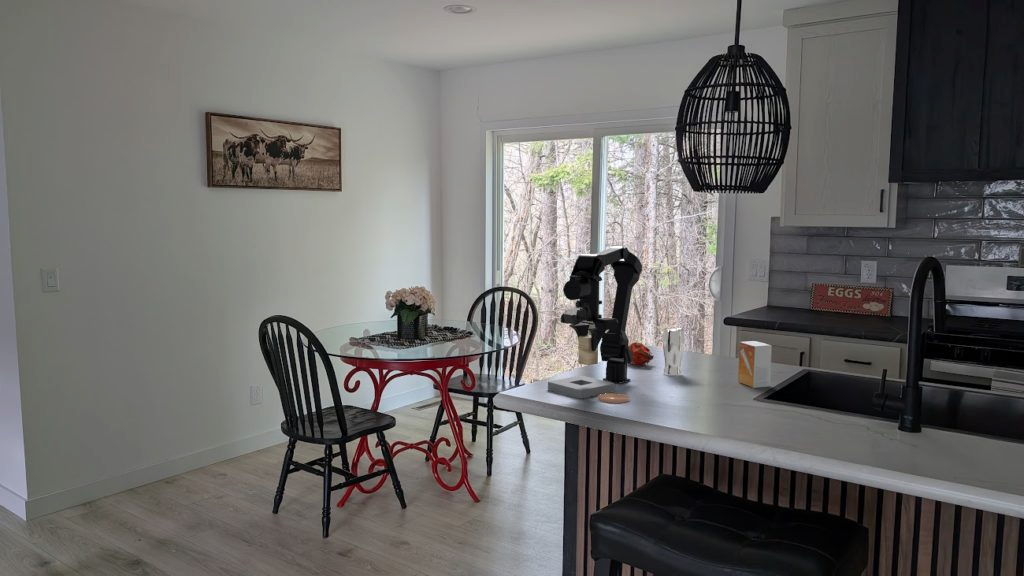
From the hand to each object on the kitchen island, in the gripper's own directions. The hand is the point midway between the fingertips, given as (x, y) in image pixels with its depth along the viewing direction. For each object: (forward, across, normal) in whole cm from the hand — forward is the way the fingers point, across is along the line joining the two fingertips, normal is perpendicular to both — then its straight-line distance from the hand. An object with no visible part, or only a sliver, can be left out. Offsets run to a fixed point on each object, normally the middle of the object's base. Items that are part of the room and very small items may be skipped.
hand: (588, 349), depth 214 cm
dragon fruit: (+13, -18, +43) cm, 48 cm away
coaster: (+13, +10, 0) cm, 16 cm away
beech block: (+4, 0, 0) cm, 4 cm away
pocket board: (+13, -3, 0) cm, 13 cm away
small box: (+13, +24, +49) cm, 56 cm away
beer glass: (+13, -1, +40) cm, 42 cm away
